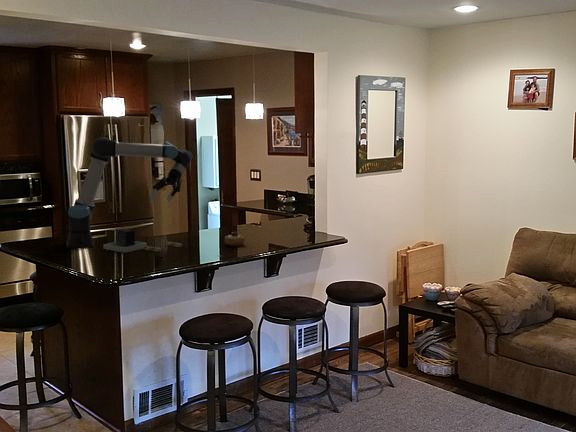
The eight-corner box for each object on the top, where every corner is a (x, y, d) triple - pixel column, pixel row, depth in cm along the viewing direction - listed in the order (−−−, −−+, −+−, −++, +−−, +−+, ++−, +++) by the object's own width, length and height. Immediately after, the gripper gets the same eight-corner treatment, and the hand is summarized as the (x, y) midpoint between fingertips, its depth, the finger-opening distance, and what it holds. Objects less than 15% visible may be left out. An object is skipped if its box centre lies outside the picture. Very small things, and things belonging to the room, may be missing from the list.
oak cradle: (144, 249, 354) (144, 246, 353) (166, 244, 369) (166, 241, 369) (160, 252, 347) (160, 248, 347) (182, 247, 363) (182, 243, 362)
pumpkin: (220, 245, 370) (220, 230, 369) (235, 242, 379) (235, 228, 378) (234, 247, 362) (234, 232, 361) (249, 245, 371) (249, 230, 370)
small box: (135, 248, 355) (135, 230, 354) (125, 250, 350) (125, 231, 349) (125, 246, 362) (124, 228, 361) (115, 247, 357) (114, 229, 356)
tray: (103, 249, 354) (103, 244, 353) (125, 245, 368) (125, 240, 367) (124, 252, 345) (124, 247, 344) (146, 248, 359) (146, 242, 358)
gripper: (195, 177, 374) (178, 204, 364) (164, 175, 388) (147, 202, 377) (189, 168, 369) (172, 196, 359) (158, 167, 382) (140, 194, 372)
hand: (159, 199), depth 368 cm, fingers open, 13 cm apart
